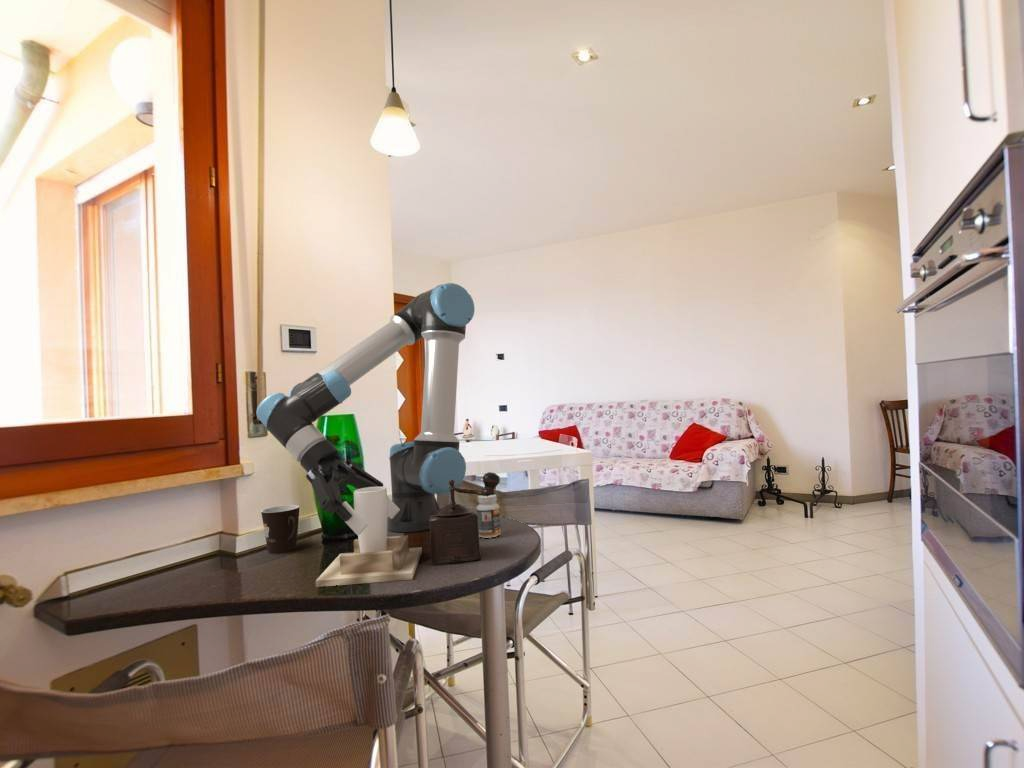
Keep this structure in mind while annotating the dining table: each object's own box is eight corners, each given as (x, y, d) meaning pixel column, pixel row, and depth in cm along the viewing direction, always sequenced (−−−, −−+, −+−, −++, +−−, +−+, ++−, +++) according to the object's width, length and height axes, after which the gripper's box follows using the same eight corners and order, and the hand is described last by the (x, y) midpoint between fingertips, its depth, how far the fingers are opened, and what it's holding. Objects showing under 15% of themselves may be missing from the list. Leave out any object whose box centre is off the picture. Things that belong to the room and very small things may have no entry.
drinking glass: (395, 556, 112) (391, 485, 113) (383, 566, 105) (378, 491, 106) (365, 557, 113) (361, 487, 114) (351, 567, 106) (347, 492, 107)
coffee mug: (264, 548, 131) (262, 507, 131) (301, 543, 134) (300, 503, 134) (259, 560, 120) (258, 516, 120) (300, 554, 123) (298, 511, 123)
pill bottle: (500, 538, 127) (498, 497, 127) (476, 539, 127) (474, 498, 127) (501, 532, 132) (499, 493, 133) (478, 534, 132) (476, 494, 133)
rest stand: (315, 587, 99) (314, 562, 99) (340, 559, 117) (339, 537, 117) (412, 579, 100) (410, 554, 101) (421, 552, 118) (420, 531, 119)
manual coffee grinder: (430, 566, 108) (425, 478, 108) (431, 552, 119) (427, 471, 119) (505, 559, 110) (500, 472, 110) (500, 545, 121) (495, 466, 121)
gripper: (337, 457, 126) (397, 520, 121) (262, 472, 101) (334, 552, 97) (355, 434, 124) (417, 497, 120) (284, 444, 100) (358, 523, 96)
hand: (380, 522), depth 109 cm, fingers open, 13 cm apart
